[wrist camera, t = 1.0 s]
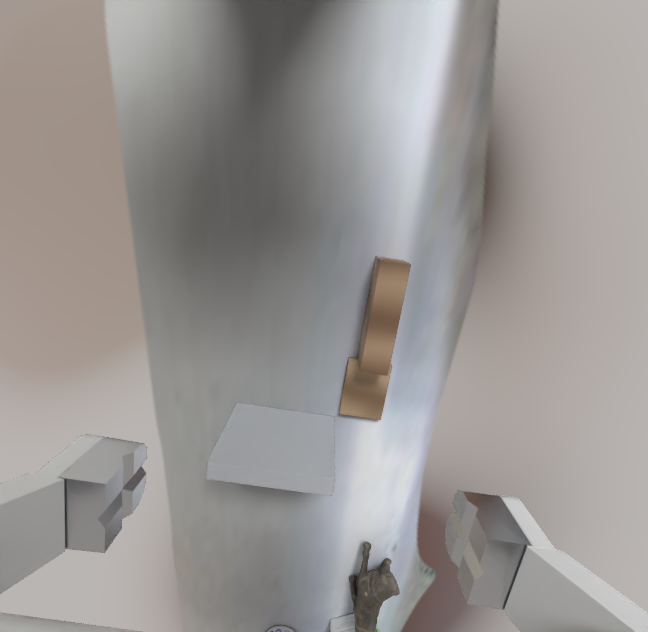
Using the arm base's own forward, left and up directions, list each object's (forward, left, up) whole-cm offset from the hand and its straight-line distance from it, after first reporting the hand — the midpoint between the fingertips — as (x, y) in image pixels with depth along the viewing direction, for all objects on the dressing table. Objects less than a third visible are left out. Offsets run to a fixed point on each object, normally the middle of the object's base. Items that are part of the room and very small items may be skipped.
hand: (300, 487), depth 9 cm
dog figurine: (+39, +13, -32) cm, 52 cm away
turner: (+5, +7, -32) cm, 33 cm away
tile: (+17, -2, -26) cm, 31 cm away
